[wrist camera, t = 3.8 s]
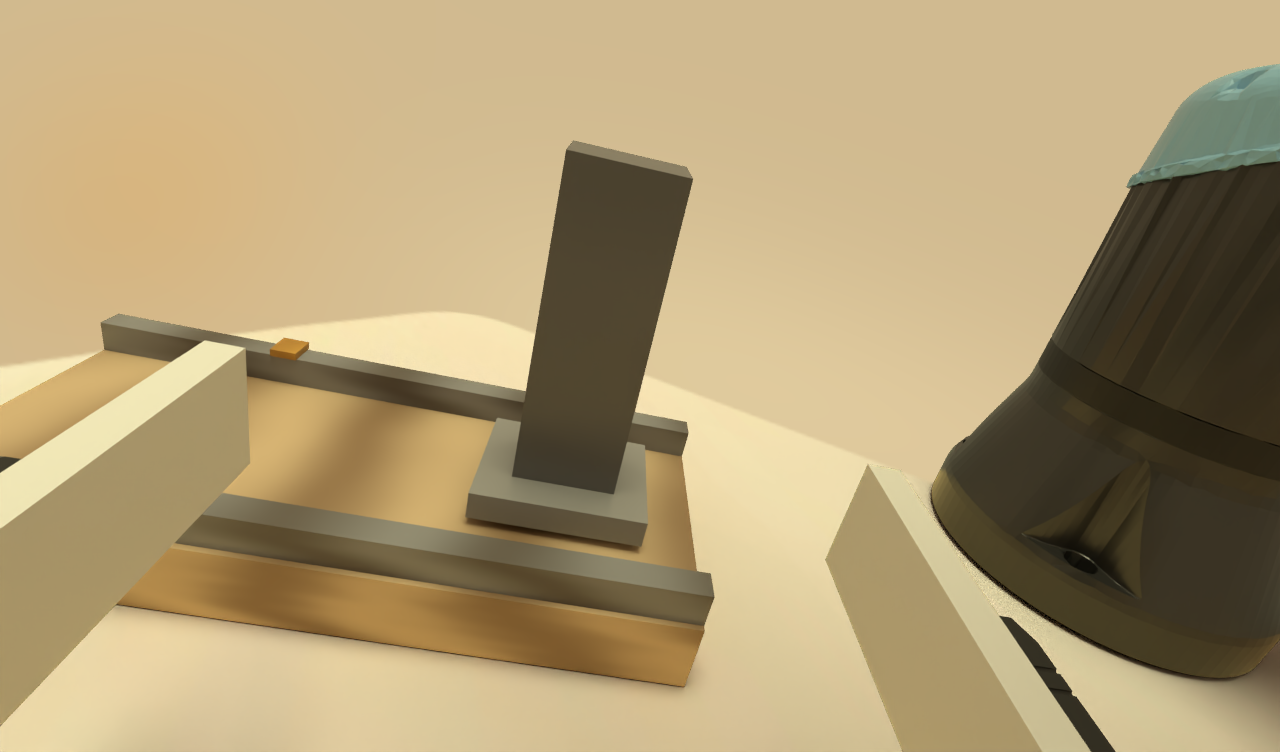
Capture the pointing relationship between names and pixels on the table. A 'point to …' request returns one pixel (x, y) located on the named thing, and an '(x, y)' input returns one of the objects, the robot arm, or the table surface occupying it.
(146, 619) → the table surface
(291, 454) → the fader console
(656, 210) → the fader tab
